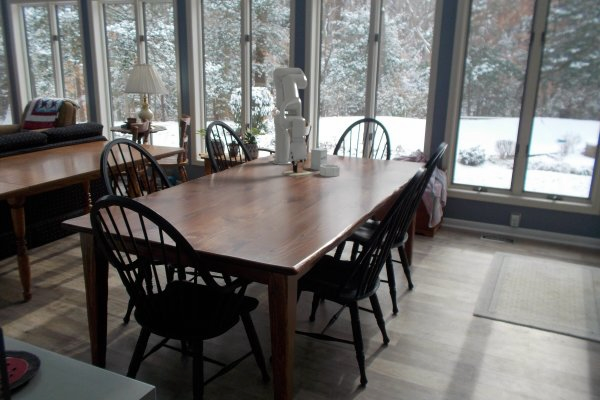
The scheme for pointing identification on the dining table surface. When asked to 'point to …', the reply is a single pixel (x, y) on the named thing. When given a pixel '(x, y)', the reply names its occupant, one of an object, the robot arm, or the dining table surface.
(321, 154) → the supplement box
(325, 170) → the bowl
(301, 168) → the lid
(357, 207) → the dining table surface
